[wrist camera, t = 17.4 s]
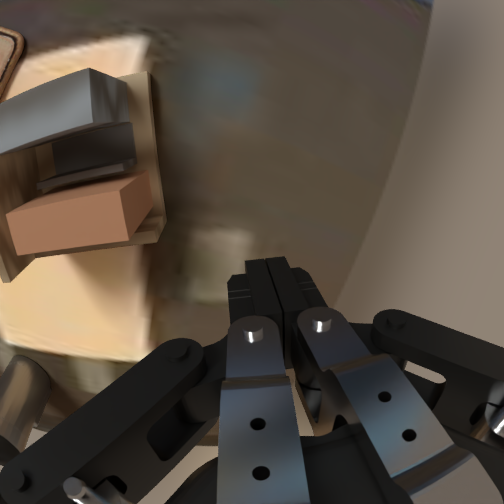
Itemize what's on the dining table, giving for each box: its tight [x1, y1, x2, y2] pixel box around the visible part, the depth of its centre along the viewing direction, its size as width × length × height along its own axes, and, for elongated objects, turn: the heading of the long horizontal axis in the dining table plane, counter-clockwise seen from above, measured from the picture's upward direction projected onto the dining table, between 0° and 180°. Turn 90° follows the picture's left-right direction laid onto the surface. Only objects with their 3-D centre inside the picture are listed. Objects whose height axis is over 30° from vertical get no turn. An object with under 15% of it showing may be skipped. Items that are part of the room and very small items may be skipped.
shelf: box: [0, 68, 167, 283], centre depth 24 cm, size 17×16×12 cm
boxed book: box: [6, 170, 153, 256], centre depth 25 cm, size 4×12×10 cm, turn 94°
